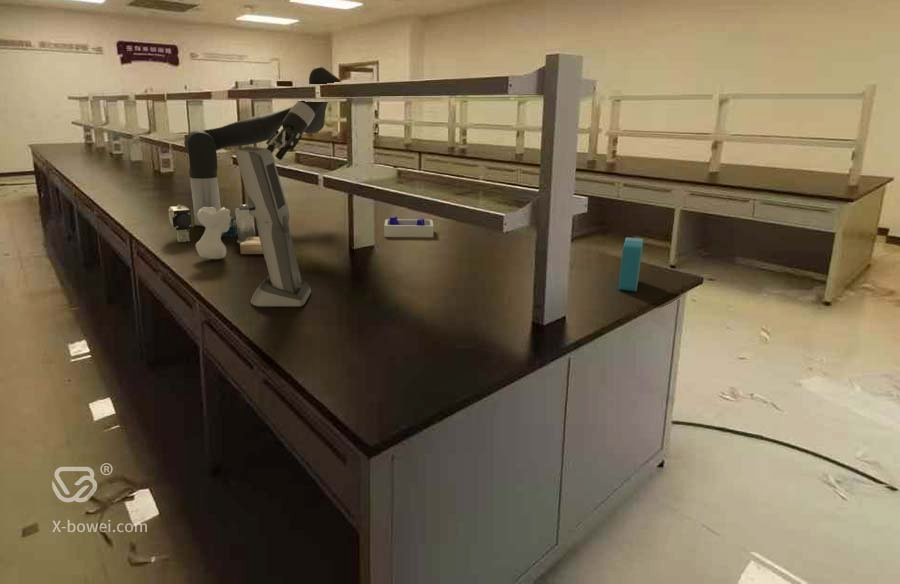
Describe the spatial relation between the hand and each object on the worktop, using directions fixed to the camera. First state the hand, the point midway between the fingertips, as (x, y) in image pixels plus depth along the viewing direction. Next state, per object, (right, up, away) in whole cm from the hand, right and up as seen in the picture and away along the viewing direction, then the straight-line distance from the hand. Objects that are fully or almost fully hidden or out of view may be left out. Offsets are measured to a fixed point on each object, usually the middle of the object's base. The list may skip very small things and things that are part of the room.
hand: (271, 157), depth 189 cm
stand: (-1, -31, -7) cm, 31 cm away
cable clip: (+43, -23, +19) cm, 52 cm away
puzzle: (-18, -24, +12) cm, 32 cm away
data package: (+106, -42, -34) cm, 119 cm away
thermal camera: (+18, -46, -50) cm, 70 cm away
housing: (-8, -27, +2) cm, 29 cm away
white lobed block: (-10, -34, -18) cm, 40 cm away
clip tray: (+43, -23, +19) cm, 53 cm away
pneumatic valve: (-29, -27, +1) cm, 40 cm away
